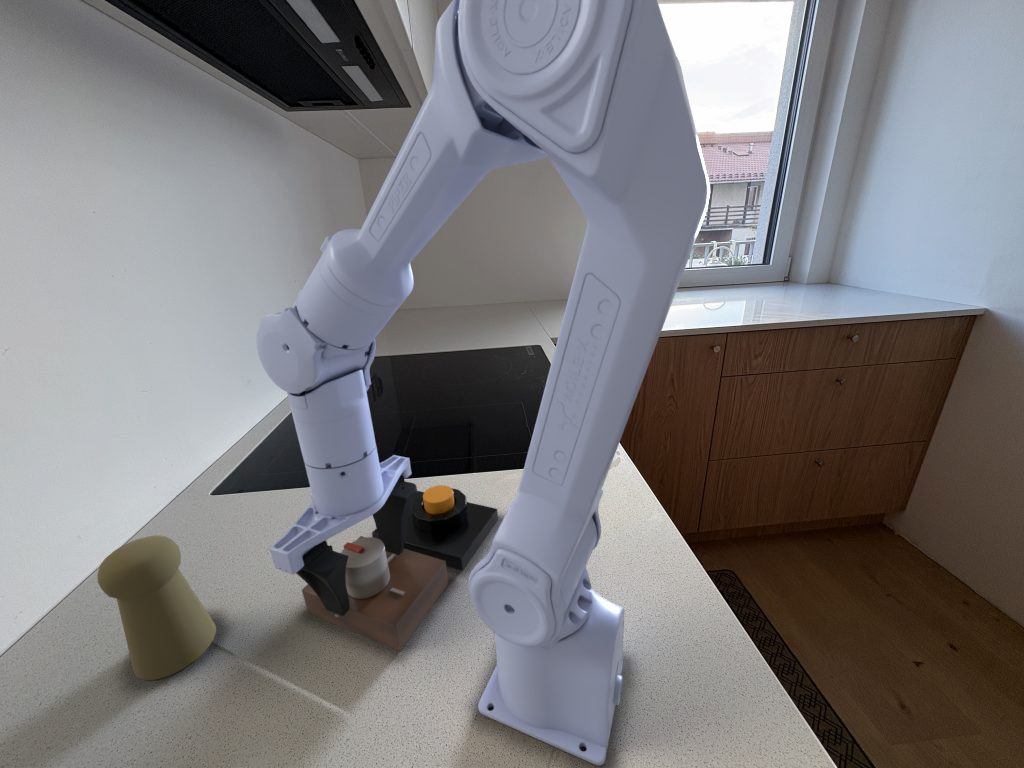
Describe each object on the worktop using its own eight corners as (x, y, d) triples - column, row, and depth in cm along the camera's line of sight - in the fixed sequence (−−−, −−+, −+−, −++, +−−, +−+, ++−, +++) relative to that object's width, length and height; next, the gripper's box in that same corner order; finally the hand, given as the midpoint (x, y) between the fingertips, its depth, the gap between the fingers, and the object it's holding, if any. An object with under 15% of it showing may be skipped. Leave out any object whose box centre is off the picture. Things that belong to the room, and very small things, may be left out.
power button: (460, 500, 52) (458, 488, 51) (444, 518, 49) (442, 505, 48) (435, 494, 53) (433, 482, 52) (418, 511, 50) (416, 499, 49)
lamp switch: (498, 520, 53) (496, 496, 51) (462, 571, 45) (459, 544, 44) (418, 501, 57) (415, 478, 56) (373, 544, 49) (368, 519, 48)
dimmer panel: (448, 583, 43) (445, 559, 42) (392, 663, 35) (386, 635, 34) (365, 557, 48) (360, 534, 46) (298, 623, 40) (291, 597, 39)
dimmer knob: (398, 572, 41) (392, 540, 40) (370, 604, 38) (363, 570, 36) (366, 562, 43) (360, 530, 41) (337, 591, 39) (328, 558, 38)
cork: (116, 687, 35) (61, 584, 31) (158, 625, 40) (116, 531, 37) (196, 671, 36) (153, 568, 32) (227, 612, 41) (193, 519, 38)
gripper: (363, 412, 43) (384, 521, 48) (225, 489, 31) (270, 627, 35) (421, 420, 40) (436, 536, 45) (294, 509, 28) (334, 656, 33)
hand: (367, 577), depth 40 cm, fingers open, 7 cm apart
